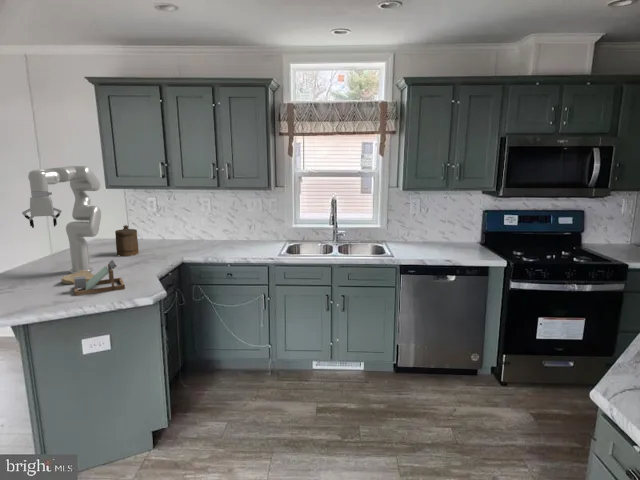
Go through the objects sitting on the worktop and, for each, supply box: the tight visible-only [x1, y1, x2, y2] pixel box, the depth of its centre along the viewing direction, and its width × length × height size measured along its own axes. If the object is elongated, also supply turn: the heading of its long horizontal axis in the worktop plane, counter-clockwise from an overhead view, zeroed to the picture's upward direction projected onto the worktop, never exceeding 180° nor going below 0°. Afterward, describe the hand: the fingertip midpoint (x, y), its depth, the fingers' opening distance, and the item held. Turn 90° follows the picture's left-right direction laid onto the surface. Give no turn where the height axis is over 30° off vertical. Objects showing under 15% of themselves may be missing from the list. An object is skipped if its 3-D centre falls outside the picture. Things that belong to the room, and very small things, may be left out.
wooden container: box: [115, 224, 140, 257], centre depth 296 cm, size 15×15×22 cm
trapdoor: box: [84, 259, 118, 290], centre depth 216 cm, size 14×19×2 cm
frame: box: [73, 263, 126, 297], centre depth 216 cm, size 17×23×11 cm
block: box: [74, 276, 86, 290], centre depth 212 cm, size 5×5×5 cm
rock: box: [61, 270, 95, 285], centre depth 230 cm, size 18×15×4 cm
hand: (44, 226), depth 213 cm, fingers open, 9 cm apart
